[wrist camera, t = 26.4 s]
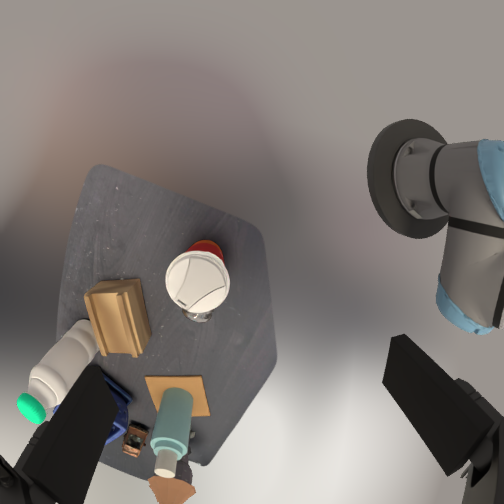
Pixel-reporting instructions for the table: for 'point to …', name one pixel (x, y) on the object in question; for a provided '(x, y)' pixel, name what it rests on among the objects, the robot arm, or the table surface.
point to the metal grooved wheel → (198, 316)
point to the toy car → (134, 440)
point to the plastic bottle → (171, 430)
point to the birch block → (118, 316)
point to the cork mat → (184, 382)
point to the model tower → (175, 482)
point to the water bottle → (58, 371)
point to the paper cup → (198, 278)
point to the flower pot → (122, 416)
